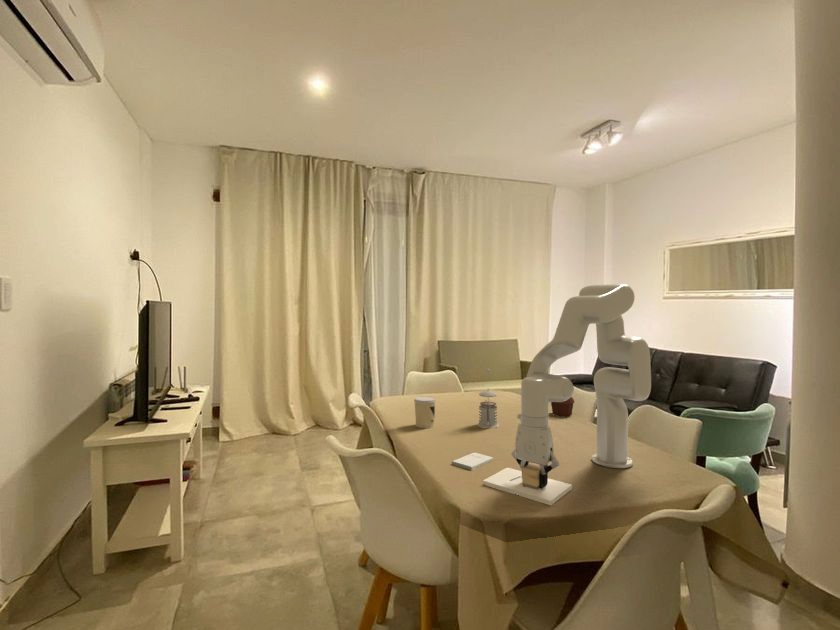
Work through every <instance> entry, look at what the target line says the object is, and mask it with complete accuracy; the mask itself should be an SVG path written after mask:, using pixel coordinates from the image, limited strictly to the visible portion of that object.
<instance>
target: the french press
mask: <svg viewBox="0 0 840 630" xmlns="http://www.w3.org/2000/svg"><path fill="white" fill-rule="evenodd" d="M485 372H487V373H489V372H491V369H490V368H486V369H485ZM478 395H479V396H480V397H484V398H492V397H493V398H494V397H497V396H498V393H496V392H495V391H492V390H489V389H486V390H483V391H481V392H480V393H478ZM479 404H480V405H479V406H478V409H479V410H478V412H479V413H478V423H477V424H476V426H477V427H479V428H481V429H482V428H483V429H497V428H499V427H500V424H499V423H498V407H497V403H496V402H494V401H491V400H488V401H481V402H480V403H479ZM496 427H497V428H496Z"/></svg>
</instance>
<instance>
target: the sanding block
mask: <svg viewBox="0 0 840 630" xmlns="http://www.w3.org/2000/svg"><path fill="white" fill-rule="evenodd" d="M521 471H522V486H526V487H529V488H533V489H536V490H537V489H539V488H540V487H539V475H540V474H541V469H540V465H539V464H535V463H531V462H529V464H528V465H527V466H525V467H523V468H522V469H521Z"/></svg>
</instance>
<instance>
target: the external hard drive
mask: <svg viewBox="0 0 840 630" xmlns="http://www.w3.org/2000/svg"><path fill="white" fill-rule="evenodd" d="M492 460H493V461H494V458H493V457H492V456H489V455H486V454H482V453H479V452H472V453H470V454H467V455H464V456H461V457H460V458H457V459H454V460H453V461H451V465H453V466H456V467H459V468H461V469H462V468H463V469H467V470H470V471H473V470H474V471H475V469H478V468H479V467H482V466H484V465H486V464H488V462H489V463H490V461H491V462H492Z"/></svg>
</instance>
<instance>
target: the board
mask: <svg viewBox="0 0 840 630" xmlns="http://www.w3.org/2000/svg"><path fill="white" fill-rule="evenodd" d="M482 485H483V486H486V487H489V488H493V489H496V490H499V491H502V492H506V493H508V494H512V495H515V494H516V495H515V496H518V495H519V497H522V498H526V499H529V500H532V501H535V502H538V503H541V504H545V505H549V506H552V505H554V504H556V503H557V502H558V500H560V499H561V498H563V497H564V496H565V495H566V494H568V493H569V492H570V491H572V490H573V484H571V483H566V482H563V481H561V480H560V481H559V480H556V479H552V478H548V483H547V485H546V486H545V487H544V488H542V489H541V488H539V489H537V490H536V489H533V488H529V487H526V486H522V470H520V469H519V470H518V469H515V468H512V467H505V468H504V469H502V470H499V471H498V472H496V473H494V474H493V475H490V476H488V477H487V478H485V479H483V481H482Z"/></svg>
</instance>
